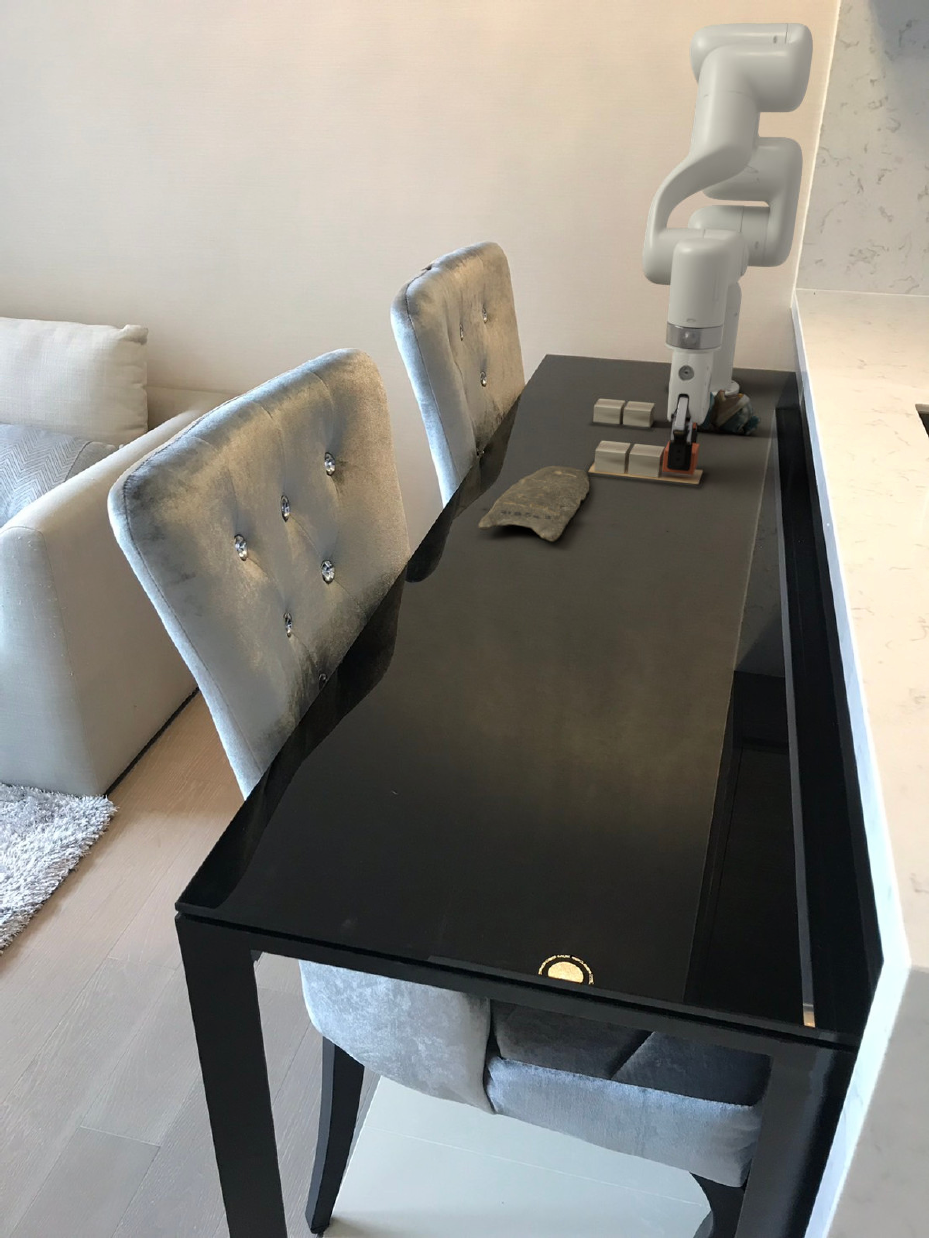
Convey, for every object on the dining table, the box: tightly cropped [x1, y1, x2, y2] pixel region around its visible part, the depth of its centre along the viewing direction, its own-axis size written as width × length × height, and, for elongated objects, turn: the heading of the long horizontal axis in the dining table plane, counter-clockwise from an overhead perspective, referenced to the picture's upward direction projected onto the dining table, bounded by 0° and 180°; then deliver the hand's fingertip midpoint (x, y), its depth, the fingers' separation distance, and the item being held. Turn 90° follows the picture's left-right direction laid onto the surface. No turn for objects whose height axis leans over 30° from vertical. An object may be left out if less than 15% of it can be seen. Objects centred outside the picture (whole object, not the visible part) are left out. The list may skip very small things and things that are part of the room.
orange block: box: [663, 440, 700, 475], centre depth 144 cm, size 4×4×3 cm
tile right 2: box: [628, 443, 666, 478], centre depth 146 cm, size 4×4×3 cm
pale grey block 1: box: [594, 440, 632, 474], centre depth 148 cm, size 4×4×3 cm
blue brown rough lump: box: [670, 390, 762, 436], centre depth 161 cm, size 9×8×15 cm
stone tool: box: [478, 465, 590, 542], centre depth 136 cm, size 11×3×25 cm
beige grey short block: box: [592, 398, 626, 425], centre depth 168 cm, size 4×4×3 cm
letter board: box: [588, 461, 704, 485], centre depth 147 cm, size 6×16×1 cm, turn 71°
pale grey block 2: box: [622, 400, 656, 428], centre depth 166 cm, size 4×4×3 cm
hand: (681, 462), depth 145 cm, fingers closed on orange block, 4 cm apart
